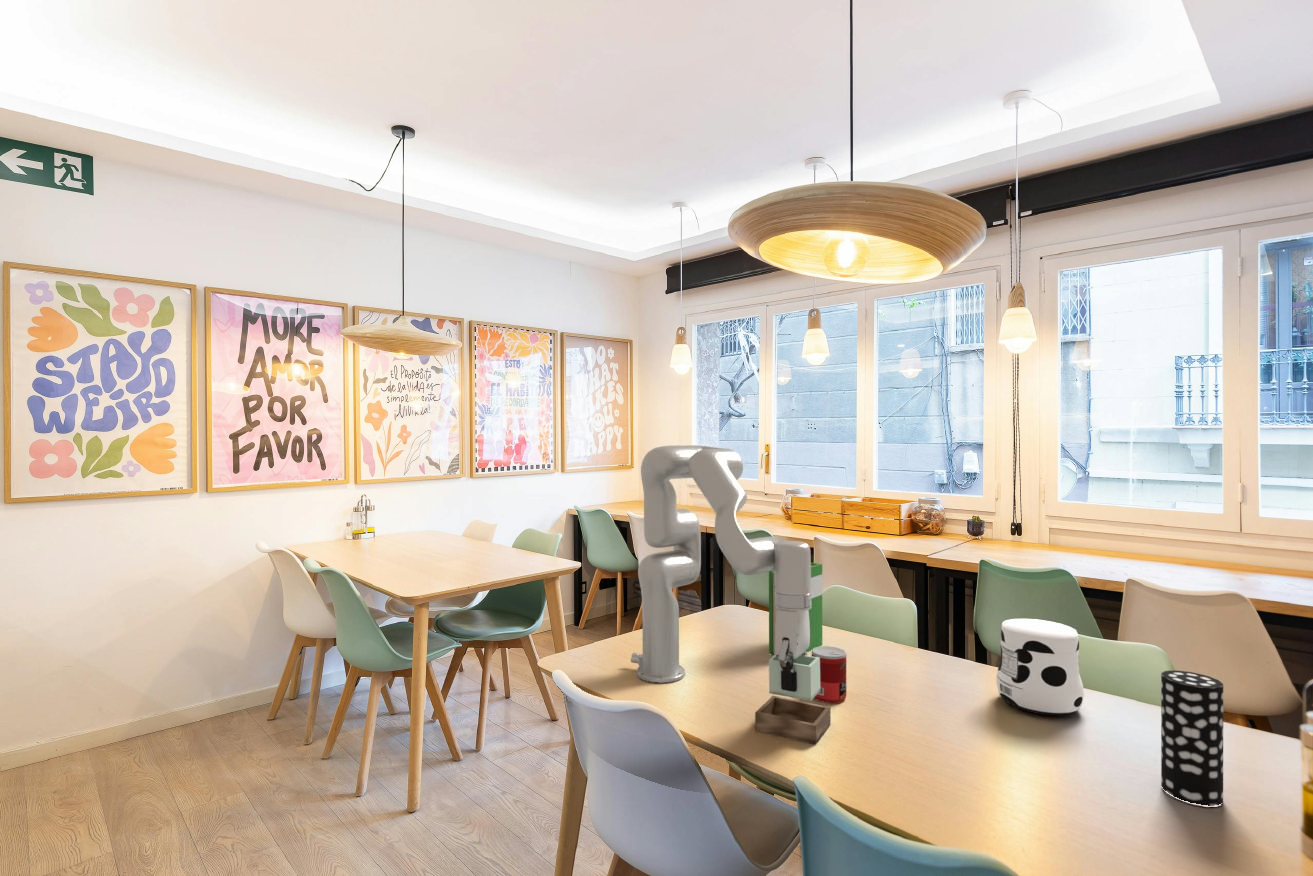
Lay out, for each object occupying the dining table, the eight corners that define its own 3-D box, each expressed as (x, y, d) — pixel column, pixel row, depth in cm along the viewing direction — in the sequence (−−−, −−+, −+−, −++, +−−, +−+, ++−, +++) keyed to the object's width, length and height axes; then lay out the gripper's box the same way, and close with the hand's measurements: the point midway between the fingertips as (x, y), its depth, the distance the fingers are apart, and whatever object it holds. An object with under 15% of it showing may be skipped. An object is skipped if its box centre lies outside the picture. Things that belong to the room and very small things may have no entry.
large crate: (755, 730, 140) (755, 712, 140) (772, 712, 149) (772, 695, 149) (815, 744, 133) (815, 726, 133) (830, 725, 142) (830, 707, 142)
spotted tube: (1149, 783, 118) (1149, 671, 118) (1192, 781, 119) (1192, 669, 119) (1190, 809, 110) (1190, 689, 110) (1236, 807, 110) (1236, 687, 110)
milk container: (1091, 705, 152) (1090, 626, 152) (1074, 729, 140) (1074, 644, 139) (1008, 685, 164) (1008, 613, 164) (986, 707, 151) (986, 628, 151)
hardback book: (792, 660, 183) (791, 573, 183) (769, 654, 188) (768, 570, 188) (822, 645, 196) (822, 564, 196) (800, 640, 201) (799, 561, 201)
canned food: (847, 705, 153) (847, 657, 153) (812, 702, 154) (812, 655, 154) (845, 692, 160) (845, 647, 160) (811, 690, 162) (811, 645, 162)
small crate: (769, 693, 140) (768, 660, 140) (779, 683, 146) (779, 651, 146) (811, 701, 135) (810, 666, 135) (820, 690, 141) (819, 657, 141)
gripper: (789, 590, 150) (791, 669, 150) (761, 607, 135) (763, 695, 135) (822, 593, 146) (823, 675, 146) (797, 611, 131) (798, 702, 131)
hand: (794, 684), depth 141 cm, fingers closed on small crate, 6 cm apart
